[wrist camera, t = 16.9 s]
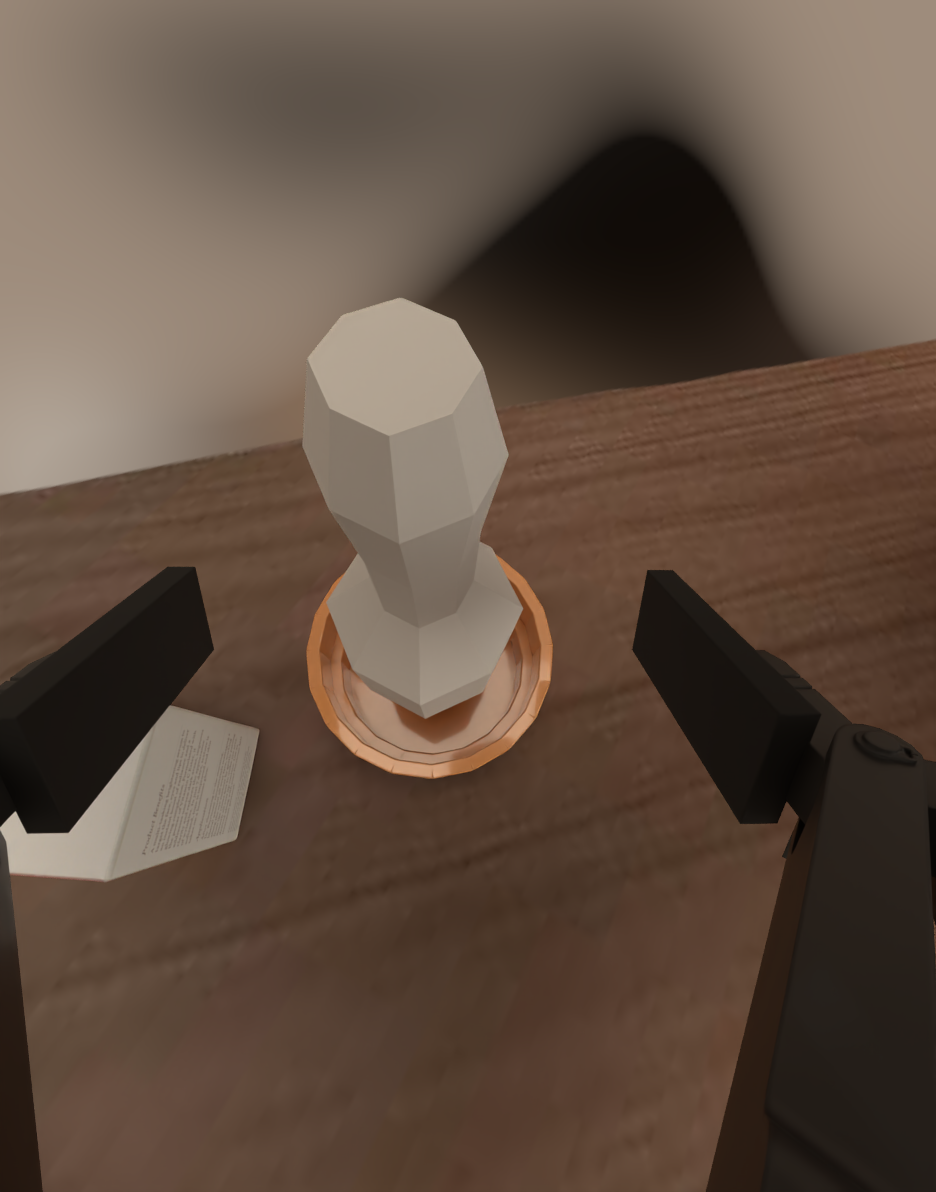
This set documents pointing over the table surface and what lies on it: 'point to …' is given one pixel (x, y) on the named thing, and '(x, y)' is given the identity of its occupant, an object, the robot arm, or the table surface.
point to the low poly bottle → (411, 502)
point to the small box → (150, 804)
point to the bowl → (453, 733)
